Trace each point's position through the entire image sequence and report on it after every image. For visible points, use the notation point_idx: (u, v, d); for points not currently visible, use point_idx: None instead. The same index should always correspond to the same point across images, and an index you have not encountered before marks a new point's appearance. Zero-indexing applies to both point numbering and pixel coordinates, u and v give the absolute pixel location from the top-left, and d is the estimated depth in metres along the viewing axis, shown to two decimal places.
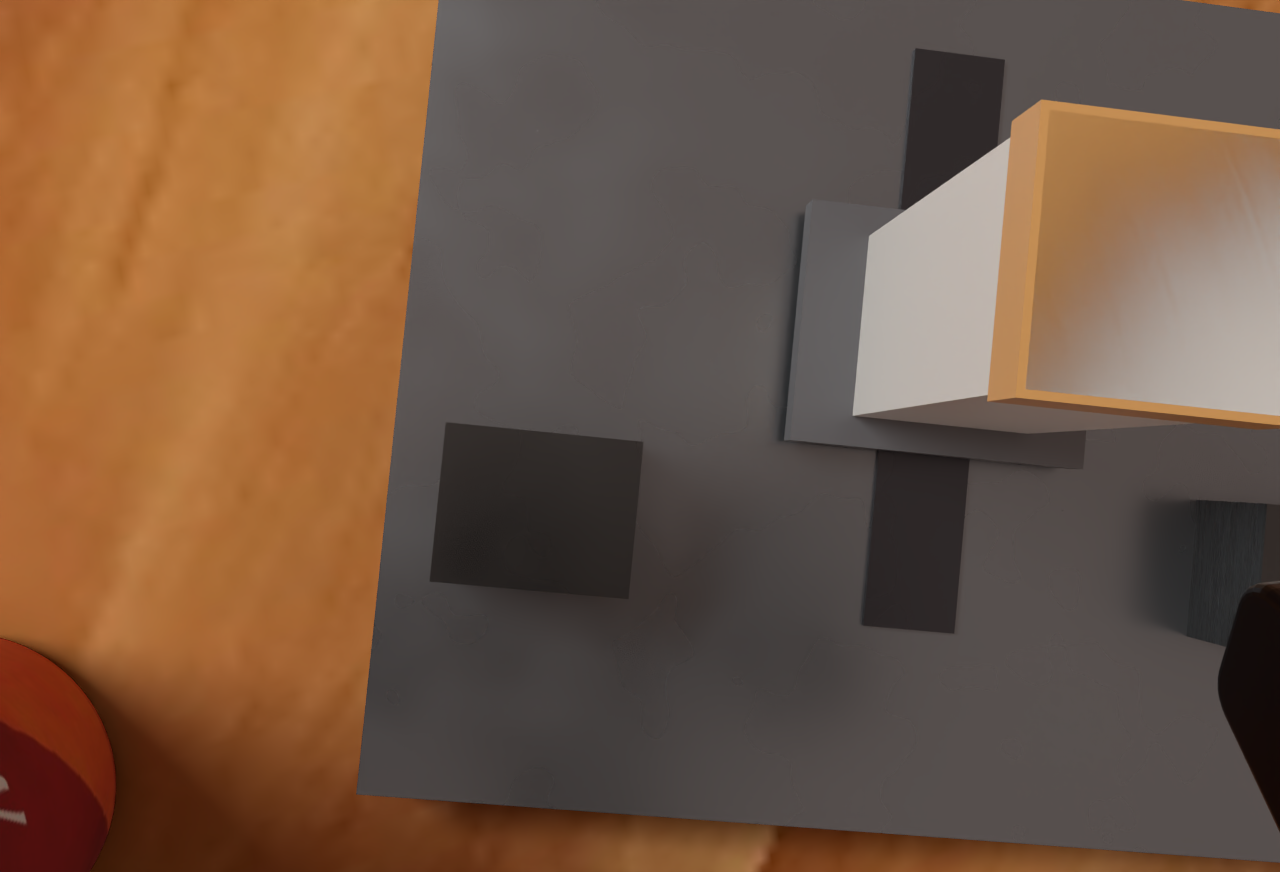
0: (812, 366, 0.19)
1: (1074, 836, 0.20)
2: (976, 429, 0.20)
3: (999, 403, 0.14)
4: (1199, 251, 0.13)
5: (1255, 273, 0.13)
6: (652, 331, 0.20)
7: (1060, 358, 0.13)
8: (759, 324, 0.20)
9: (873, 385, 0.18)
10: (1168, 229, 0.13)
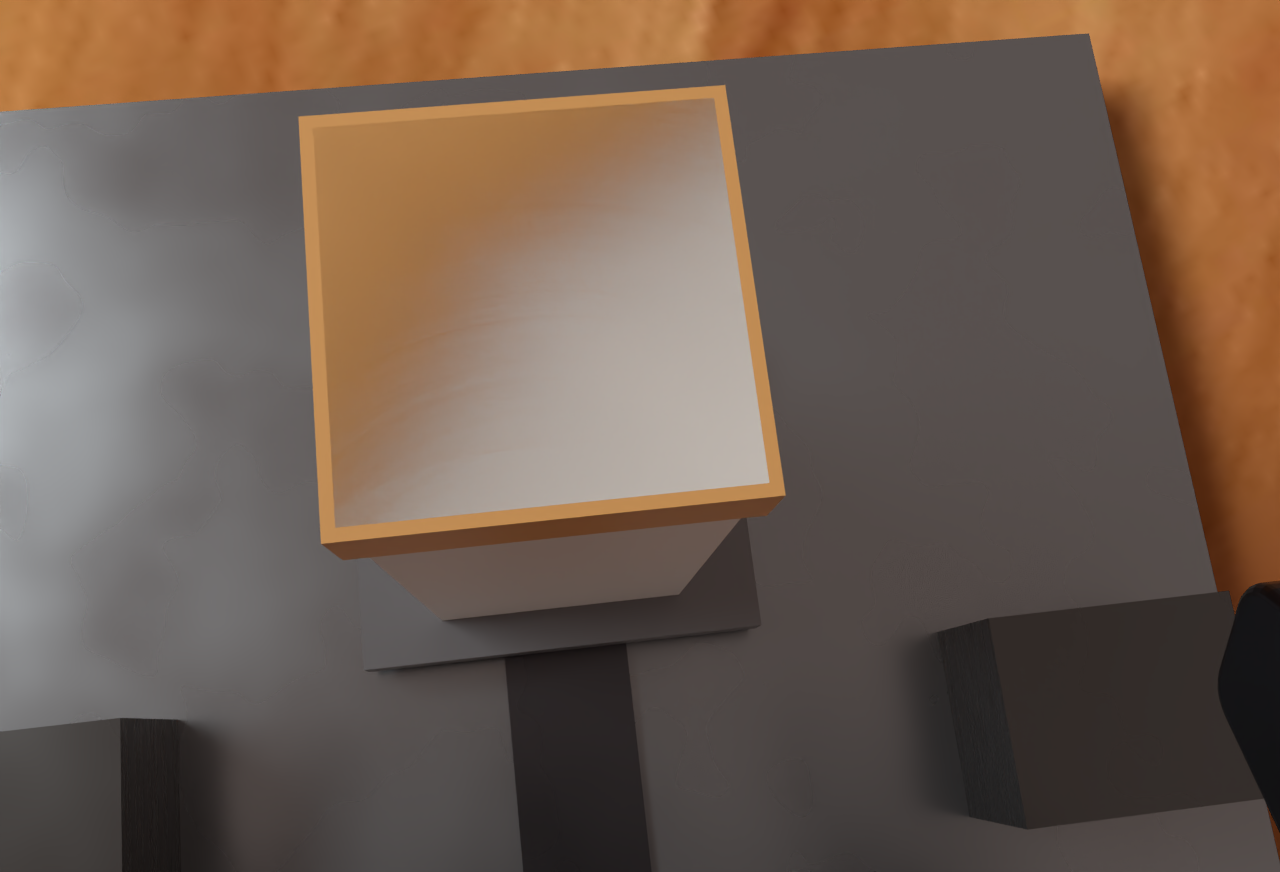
0: (378, 568, 0.15)
1: None
2: (610, 603, 0.15)
3: (439, 560, 0.10)
4: (572, 274, 0.09)
5: (663, 289, 0.09)
6: (184, 568, 0.16)
7: (384, 470, 0.08)
8: None
9: None
10: (521, 254, 0.09)
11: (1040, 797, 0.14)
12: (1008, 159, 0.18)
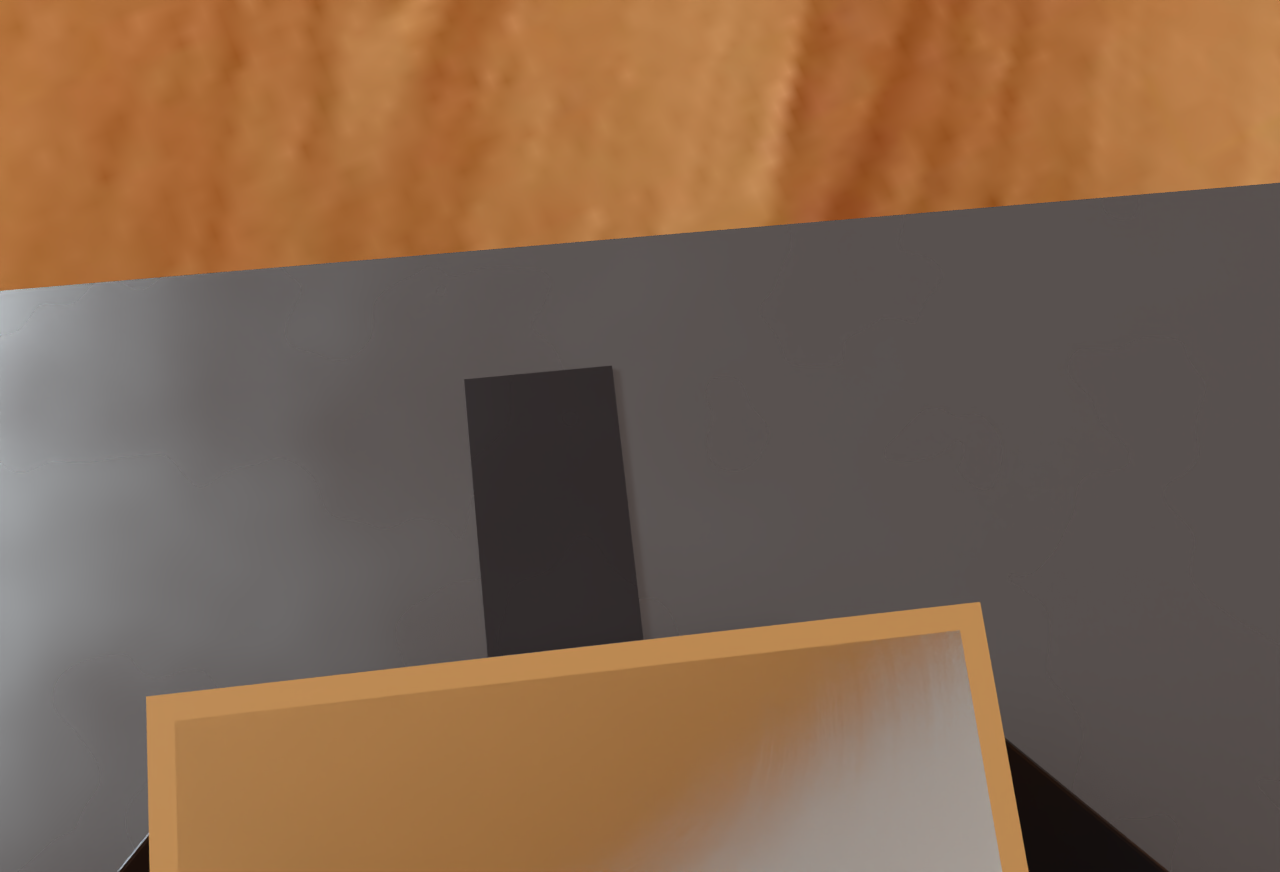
0: None
1: None
2: None
3: None
4: None
5: None
6: None
7: None
8: None
9: None
10: None
11: None
12: (1188, 357, 0.13)
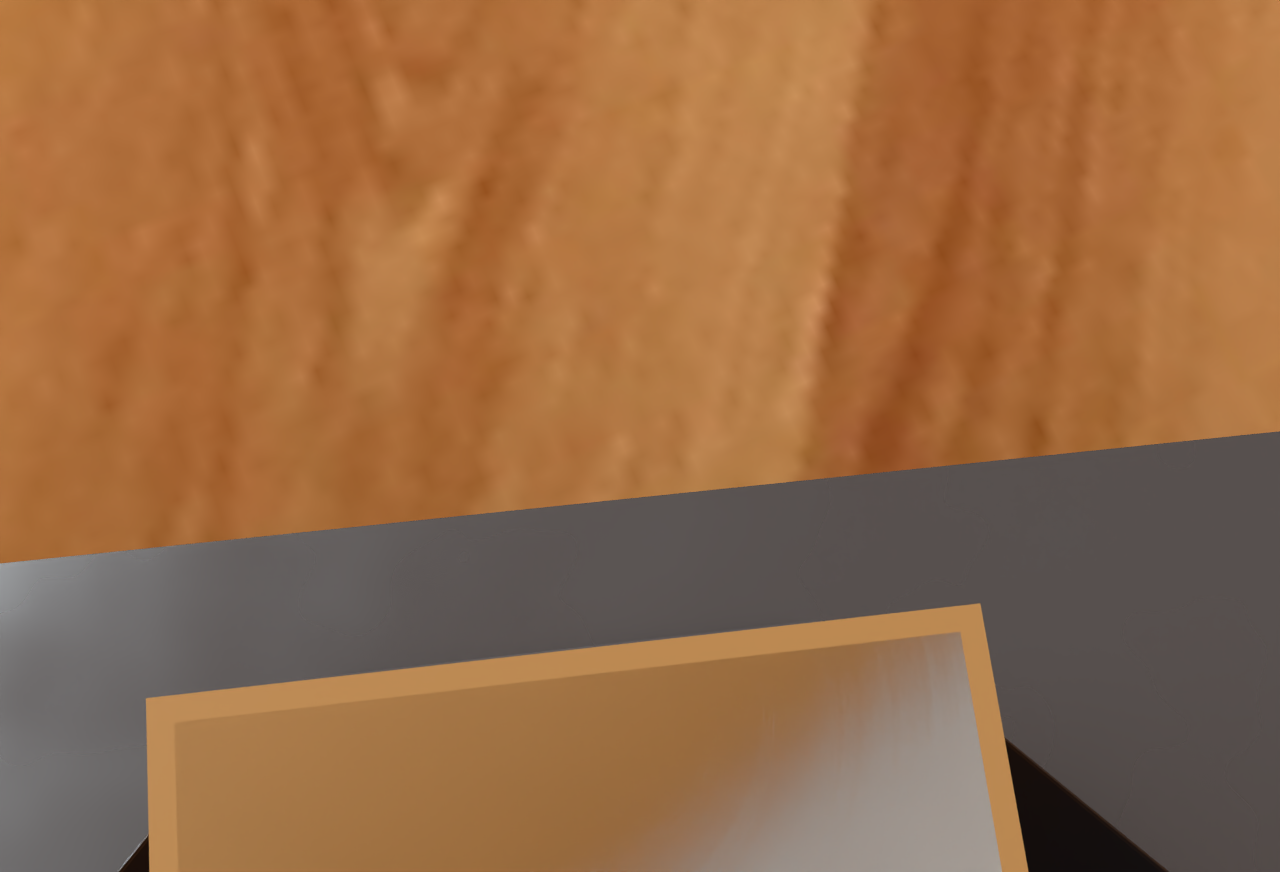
0: None
1: None
2: None
3: None
4: None
5: None
6: None
7: None
8: None
9: None
10: None
11: None
12: (1249, 620, 0.13)
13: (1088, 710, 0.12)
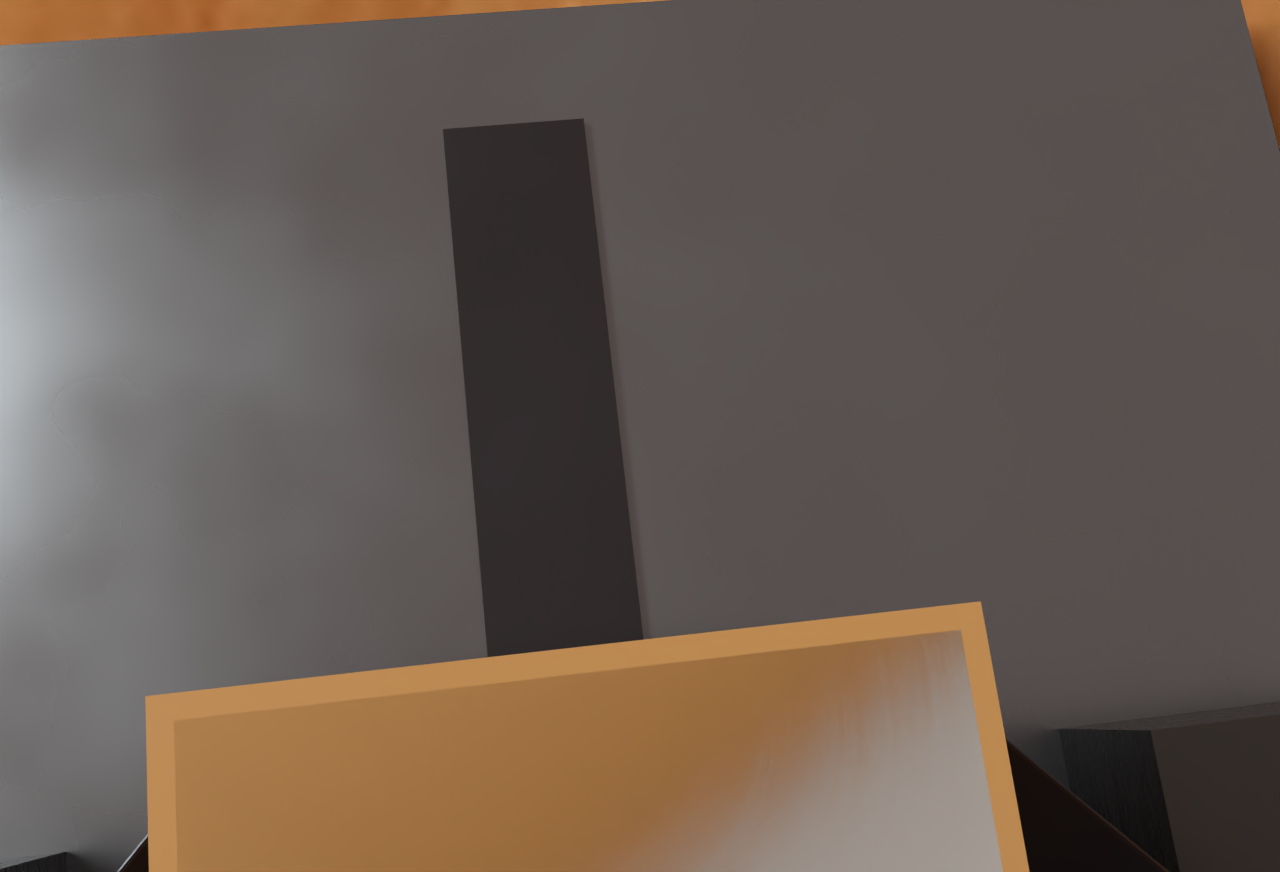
0: None
1: None
2: None
3: None
4: None
5: None
6: (78, 649, 0.12)
7: None
8: (261, 597, 0.12)
9: None
10: None
11: None
12: (1134, 120, 0.14)
13: (986, 189, 0.14)
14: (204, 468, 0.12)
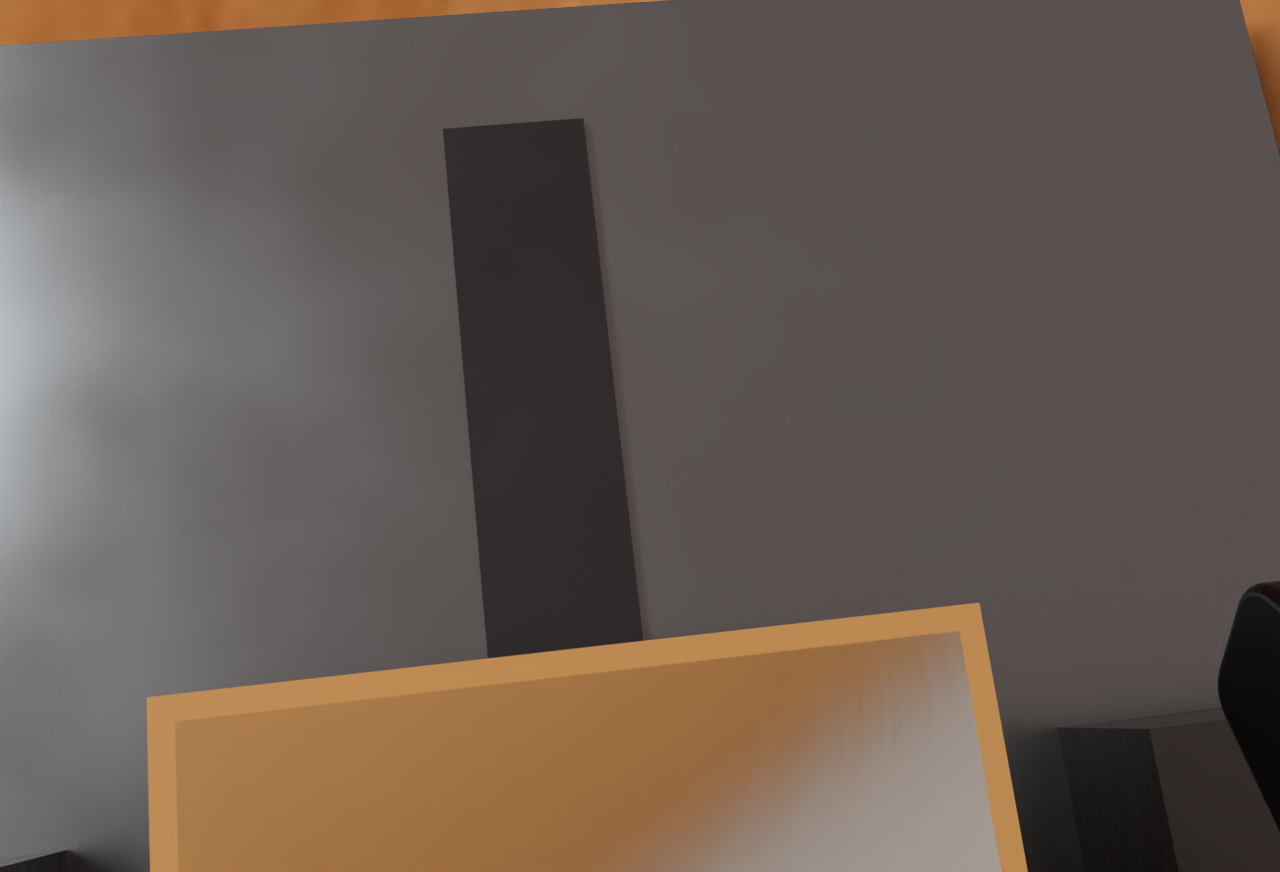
0: None
1: None
2: None
3: None
4: None
5: None
6: (79, 647, 0.12)
7: None
8: (262, 597, 0.12)
9: None
10: None
11: None
12: (1133, 120, 0.14)
13: (985, 189, 0.14)
14: (204, 467, 0.12)
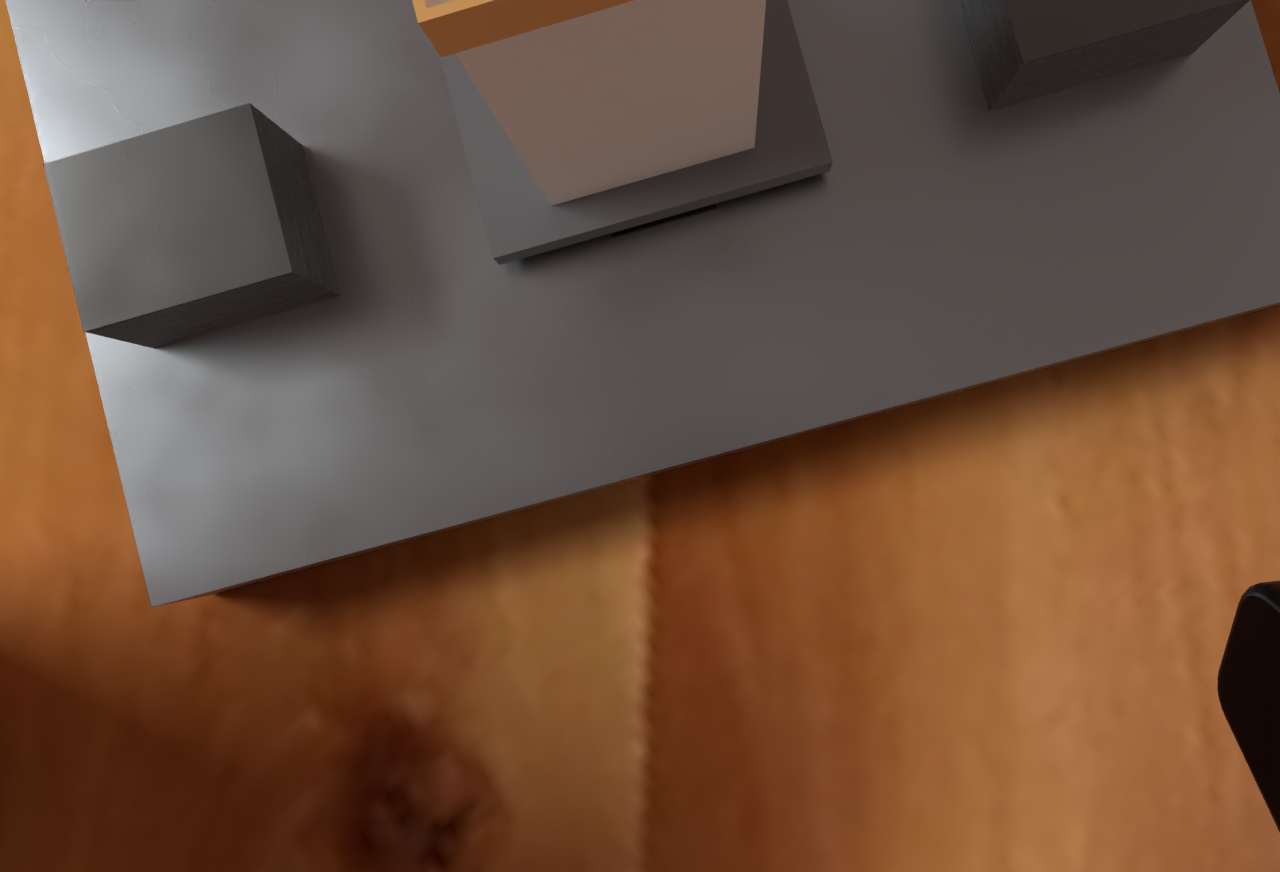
0: (488, 170, 0.17)
1: (942, 380, 0.17)
2: (695, 166, 0.17)
3: (523, 73, 0.12)
4: None
5: None
6: (280, 23, 0.18)
7: None
8: None
9: None
10: None
11: (1033, 34, 0.15)
12: None
13: None
14: None
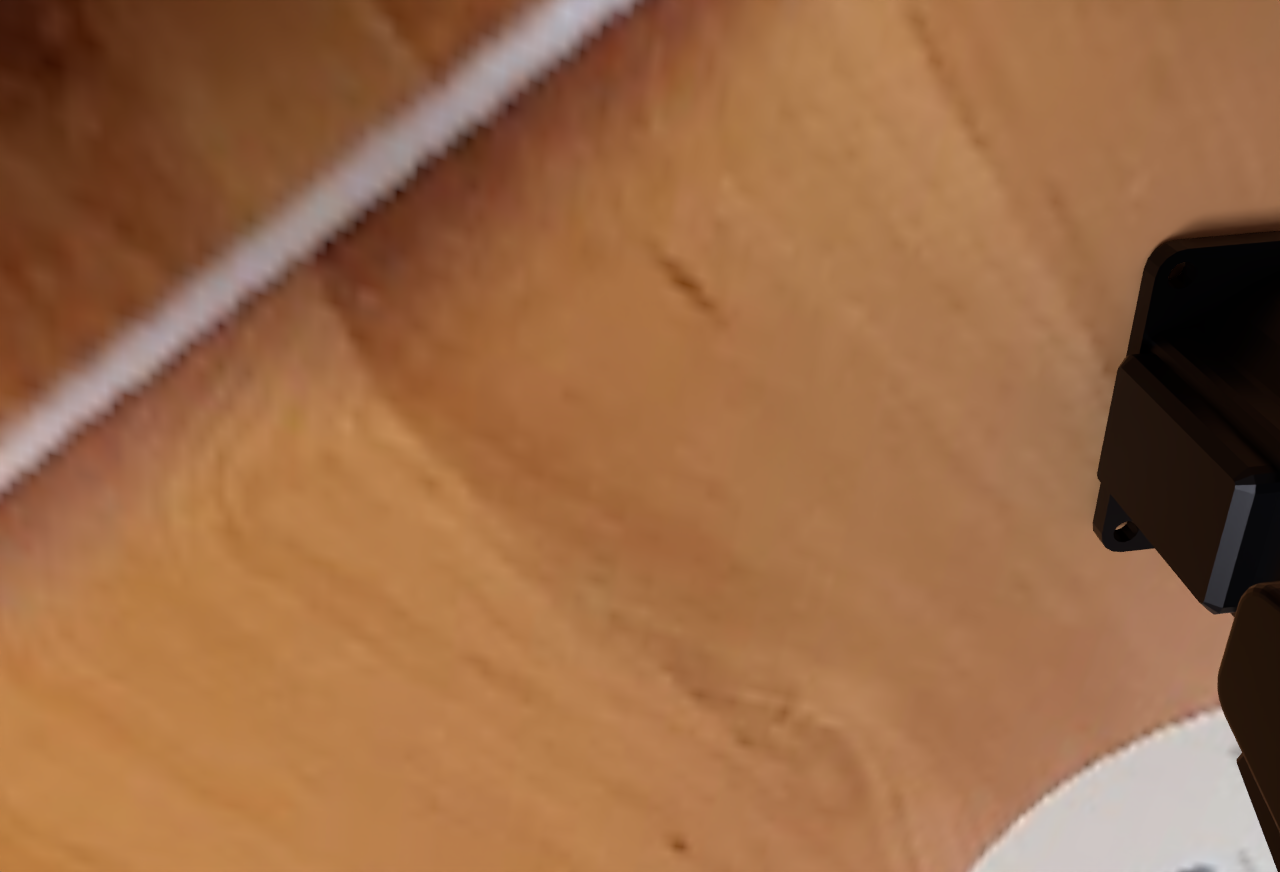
0: None
1: None
2: None
3: None
4: None
5: None
6: None
7: None
8: None
9: None
10: None
11: None
12: None
13: None
14: None
